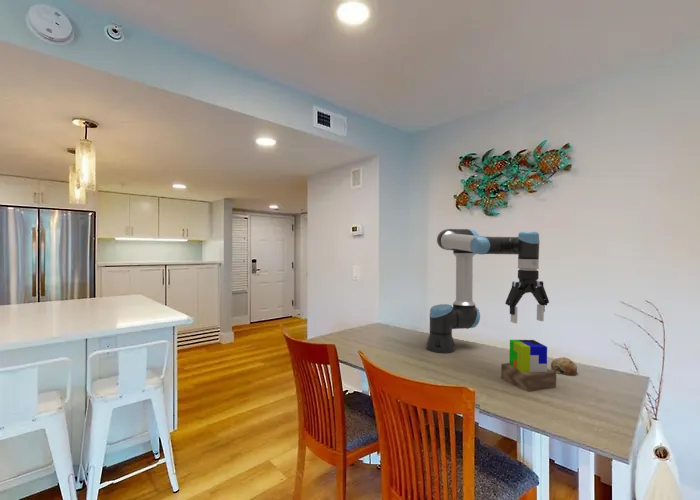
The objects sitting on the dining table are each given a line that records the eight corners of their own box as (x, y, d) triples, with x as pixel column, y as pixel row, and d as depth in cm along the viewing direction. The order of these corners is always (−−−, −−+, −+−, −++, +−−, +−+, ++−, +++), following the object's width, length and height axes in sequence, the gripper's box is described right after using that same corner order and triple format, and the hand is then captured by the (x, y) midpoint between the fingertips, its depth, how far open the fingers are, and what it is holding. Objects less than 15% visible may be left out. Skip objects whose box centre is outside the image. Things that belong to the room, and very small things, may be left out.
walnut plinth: (501, 378, 143) (501, 363, 143) (527, 374, 148) (527, 360, 148) (528, 391, 130) (528, 375, 130) (556, 387, 134) (556, 372, 134)
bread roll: (549, 378, 153) (547, 364, 150) (554, 363, 160) (552, 349, 157) (575, 384, 146) (574, 370, 144) (579, 368, 153) (578, 354, 150)
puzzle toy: (546, 372, 134) (547, 346, 134) (521, 372, 134) (521, 346, 134) (533, 363, 144) (533, 339, 144) (509, 363, 144) (509, 339, 144)
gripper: (510, 270, 131) (509, 325, 132) (559, 269, 139) (558, 321, 139) (496, 269, 138) (495, 321, 139) (543, 268, 146) (542, 317, 147)
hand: (527, 321), depth 139 cm, fingers open, 13 cm apart
